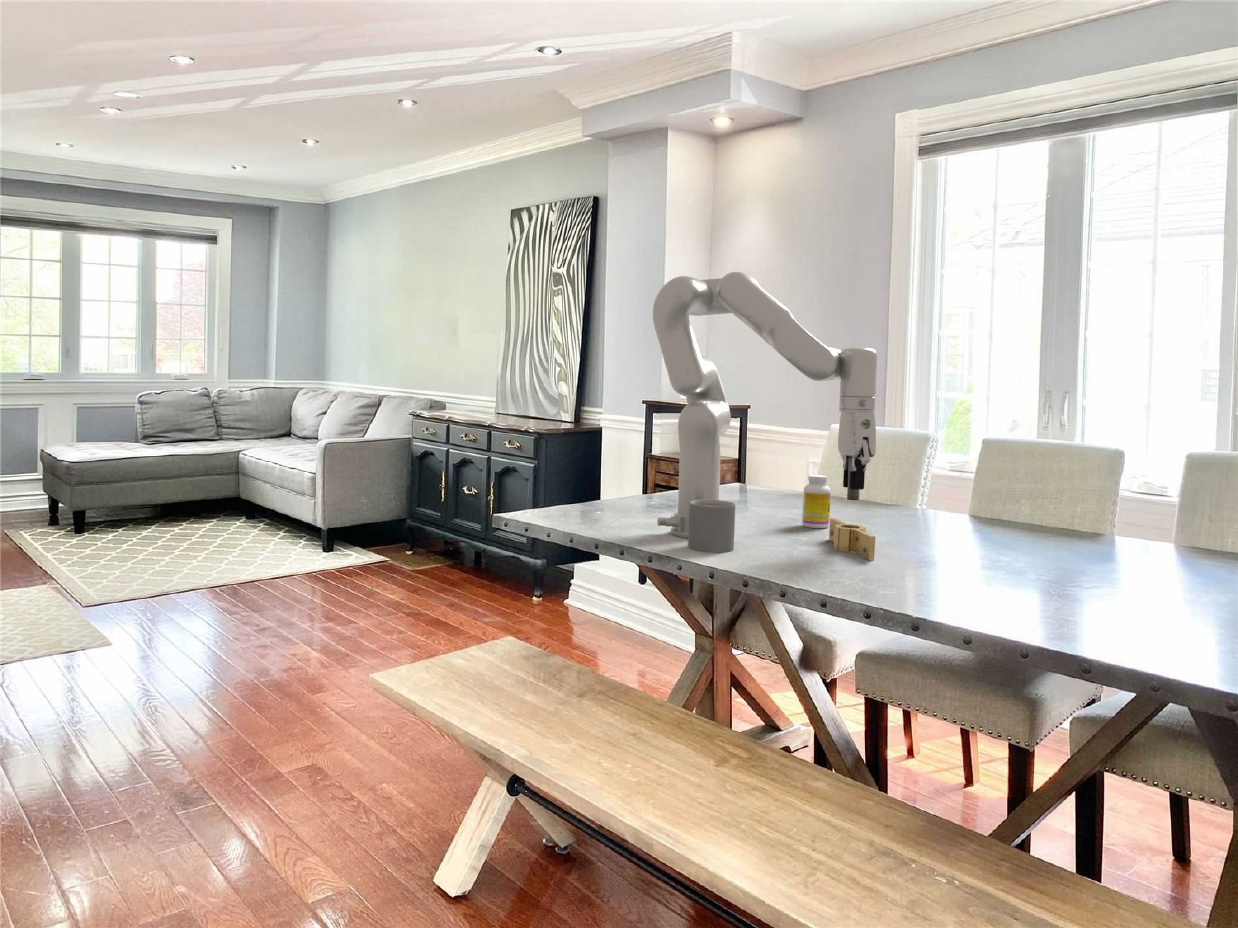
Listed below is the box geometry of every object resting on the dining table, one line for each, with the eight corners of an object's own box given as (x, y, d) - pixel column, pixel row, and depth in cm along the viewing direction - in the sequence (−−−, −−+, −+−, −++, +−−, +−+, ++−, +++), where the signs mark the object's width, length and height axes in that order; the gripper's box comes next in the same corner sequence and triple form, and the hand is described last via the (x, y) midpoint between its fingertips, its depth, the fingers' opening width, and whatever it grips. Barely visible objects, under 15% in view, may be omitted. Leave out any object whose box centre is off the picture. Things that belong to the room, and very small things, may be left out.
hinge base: (857, 560, 195) (858, 536, 195) (829, 545, 210) (830, 524, 209) (885, 559, 197) (886, 536, 196) (856, 545, 211) (857, 523, 210)
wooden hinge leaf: (846, 545, 211) (847, 523, 210) (839, 545, 210) (840, 523, 210) (834, 539, 217) (835, 518, 217) (828, 539, 217) (829, 518, 217)
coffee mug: (723, 554, 197) (725, 508, 196) (680, 549, 202) (682, 503, 201) (745, 544, 209) (747, 500, 208) (704, 539, 214) (705, 496, 213)
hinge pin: (848, 500, 203) (850, 450, 202) (841, 498, 207) (843, 449, 206) (864, 500, 204) (867, 450, 203) (857, 498, 208) (859, 449, 207)
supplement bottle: (831, 529, 231) (834, 477, 229) (804, 528, 231) (807, 477, 229) (825, 524, 237) (828, 474, 236) (799, 523, 237) (802, 473, 236)
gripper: (890, 406, 196) (885, 493, 198) (857, 403, 212) (853, 483, 214) (856, 406, 195) (852, 493, 197) (826, 402, 211) (822, 483, 213)
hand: (853, 487), depth 205 cm, fingers closed on hinge pin, 2 cm apart
